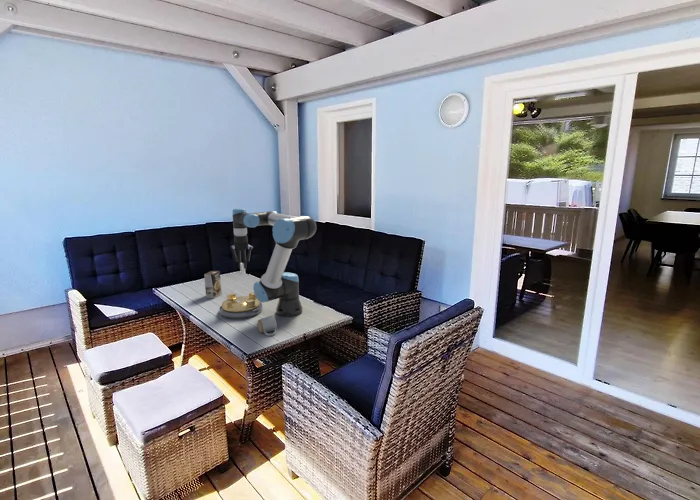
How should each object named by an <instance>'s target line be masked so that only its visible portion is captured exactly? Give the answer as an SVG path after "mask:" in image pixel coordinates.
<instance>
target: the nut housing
mask: <svg viewBox="0 0 700 500" xmlns="http://www.w3.org/2000/svg"><path fill="white" fill-rule="evenodd" d="M262 303H263V302H260V301H259V304H260V305H259V307H258V308H257V309H255V310H252V311H249V312H244V313H228V312H225V311H223V310H222V305H220V307H219V309H218V310H219V316H220V317H221V318H222V319H225V320H226V319H227V320H244V319H249V318H253V317H256V316H257V315H259V314H261V313H262V312H263V304H262Z"/></svg>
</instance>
